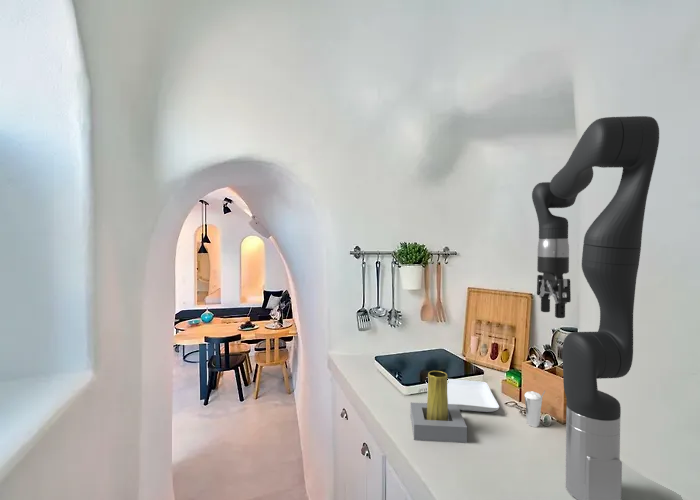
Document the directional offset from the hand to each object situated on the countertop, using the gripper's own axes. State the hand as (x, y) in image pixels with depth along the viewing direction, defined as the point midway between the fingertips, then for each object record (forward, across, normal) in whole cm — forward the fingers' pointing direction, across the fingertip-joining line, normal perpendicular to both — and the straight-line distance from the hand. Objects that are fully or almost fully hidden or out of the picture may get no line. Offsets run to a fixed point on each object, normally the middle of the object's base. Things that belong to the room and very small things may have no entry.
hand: (552, 314), depth 100 cm
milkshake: (+32, +3, +3) cm, 32 cm away
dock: (+32, -1, +31) cm, 45 cm away
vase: (+31, -2, +31) cm, 44 cm away
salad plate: (+33, +18, +21) cm, 43 cm away
